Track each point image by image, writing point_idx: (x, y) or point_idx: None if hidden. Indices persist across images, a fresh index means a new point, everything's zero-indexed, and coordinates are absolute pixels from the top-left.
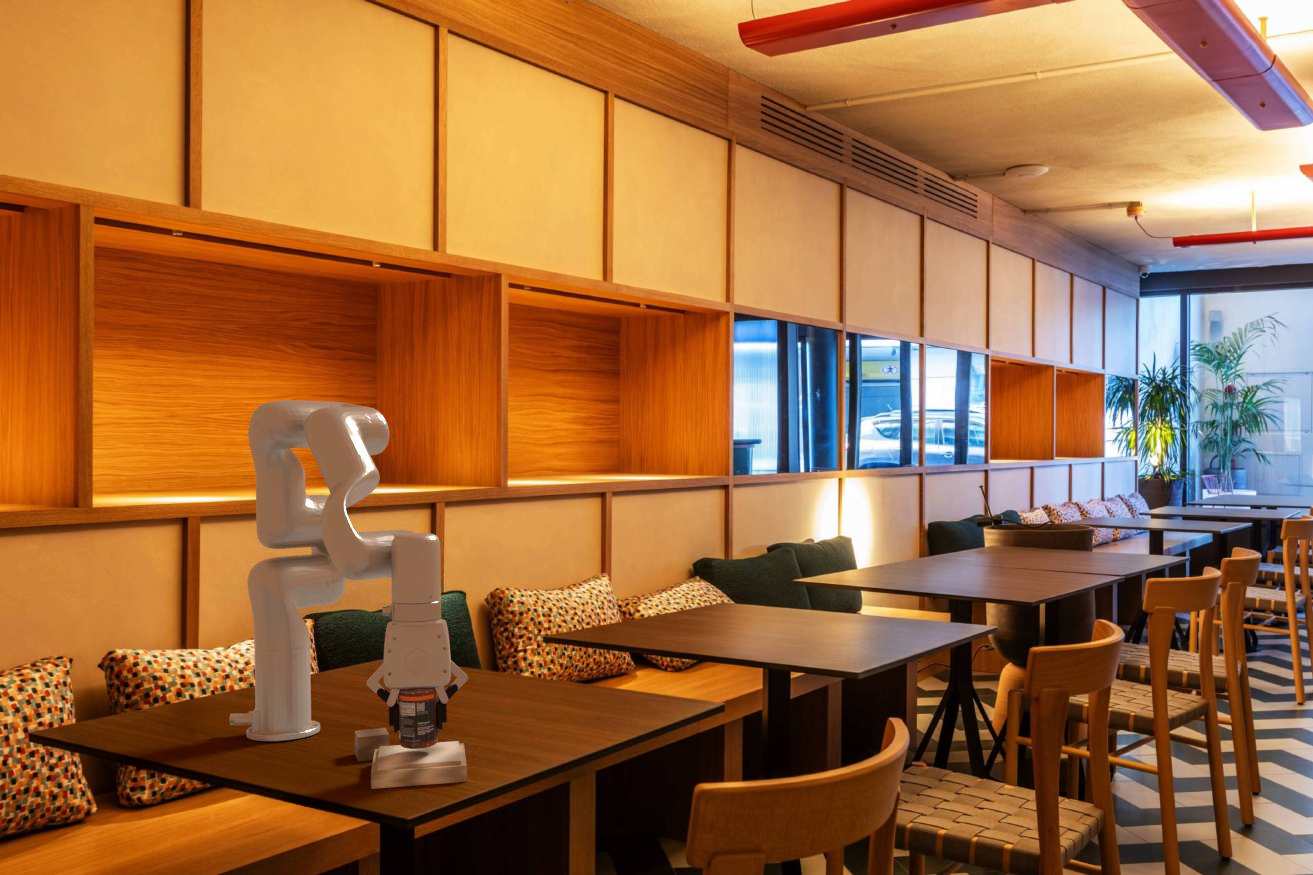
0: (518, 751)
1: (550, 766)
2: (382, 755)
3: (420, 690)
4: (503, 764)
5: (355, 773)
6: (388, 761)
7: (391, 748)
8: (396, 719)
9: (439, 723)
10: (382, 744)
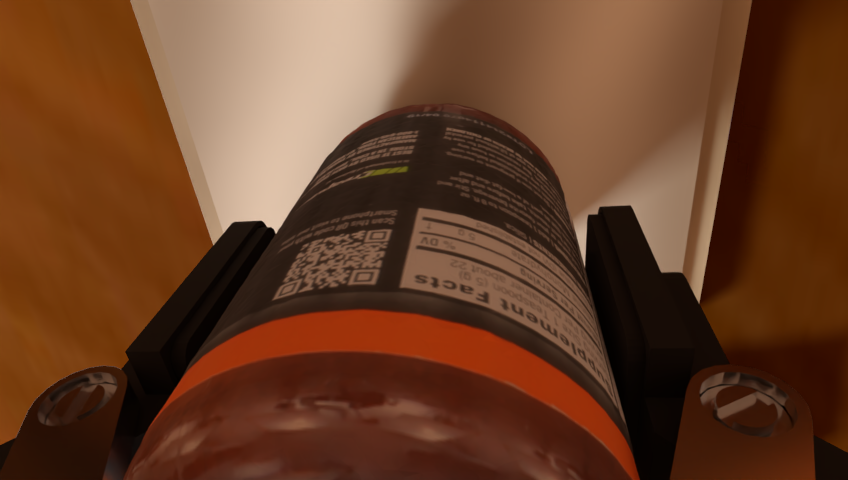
0: (86, 366)
1: None
2: (668, 186)
3: (269, 454)
4: (77, 204)
5: (781, 201)
6: (638, 22)
7: None
8: (624, 257)
9: (239, 238)
10: None
